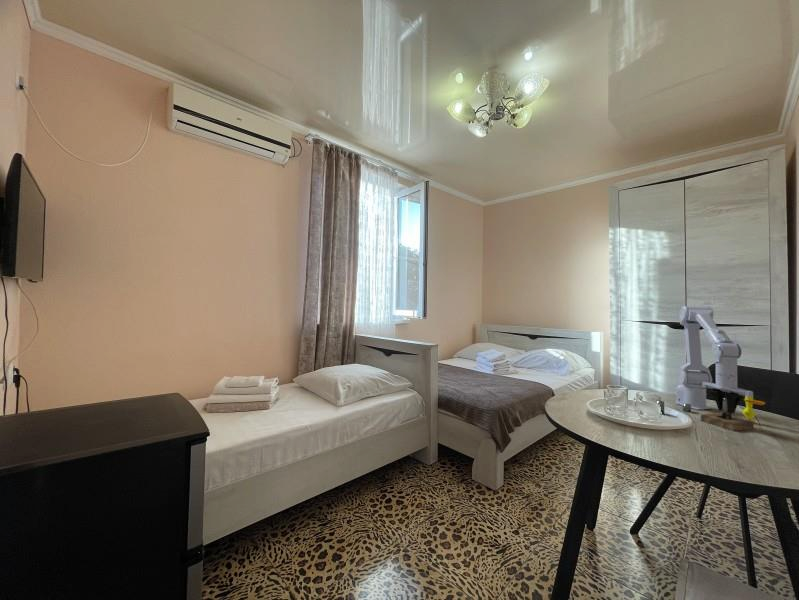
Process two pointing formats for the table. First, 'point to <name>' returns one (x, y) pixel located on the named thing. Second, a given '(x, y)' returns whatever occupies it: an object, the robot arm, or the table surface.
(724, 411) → the long pin
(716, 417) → the hole block
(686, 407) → the short pin
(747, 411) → the toy figure
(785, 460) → the table surface
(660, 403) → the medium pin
